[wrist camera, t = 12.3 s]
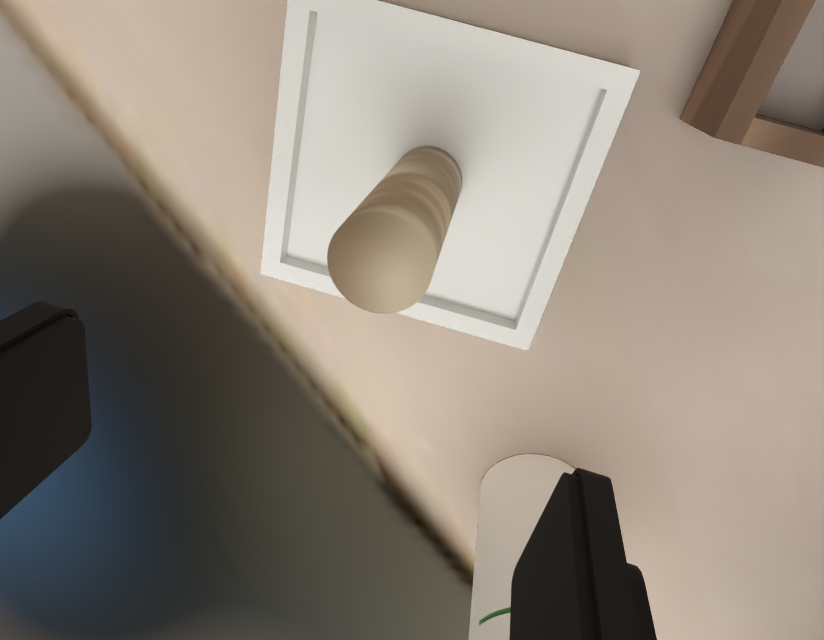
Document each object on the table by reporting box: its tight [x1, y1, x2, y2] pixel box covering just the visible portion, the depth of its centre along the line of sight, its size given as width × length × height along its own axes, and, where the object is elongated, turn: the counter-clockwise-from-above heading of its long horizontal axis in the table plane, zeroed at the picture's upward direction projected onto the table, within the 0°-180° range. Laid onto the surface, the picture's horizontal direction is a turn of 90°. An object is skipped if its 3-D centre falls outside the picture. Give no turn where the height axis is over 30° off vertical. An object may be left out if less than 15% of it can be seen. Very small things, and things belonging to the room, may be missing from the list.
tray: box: [260, 0, 641, 351], centre depth 27 cm, size 15×14×2 cm
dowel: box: [327, 146, 462, 313], centre depth 22 cm, size 3×3×11 cm
